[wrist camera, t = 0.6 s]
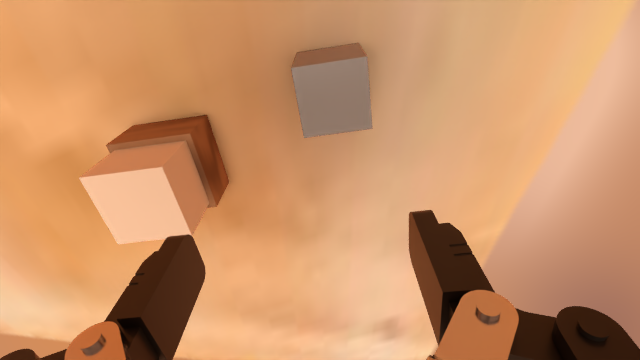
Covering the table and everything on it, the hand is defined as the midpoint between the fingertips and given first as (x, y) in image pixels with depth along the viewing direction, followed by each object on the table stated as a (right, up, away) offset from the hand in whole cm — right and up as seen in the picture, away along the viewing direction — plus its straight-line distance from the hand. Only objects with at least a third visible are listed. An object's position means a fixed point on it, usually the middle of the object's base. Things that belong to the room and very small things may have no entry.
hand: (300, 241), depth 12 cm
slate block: (+2, +11, +16) cm, 19 cm away
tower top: (-12, +2, +16) cm, 20 cm away
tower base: (-12, +5, +20) cm, 24 cm away
